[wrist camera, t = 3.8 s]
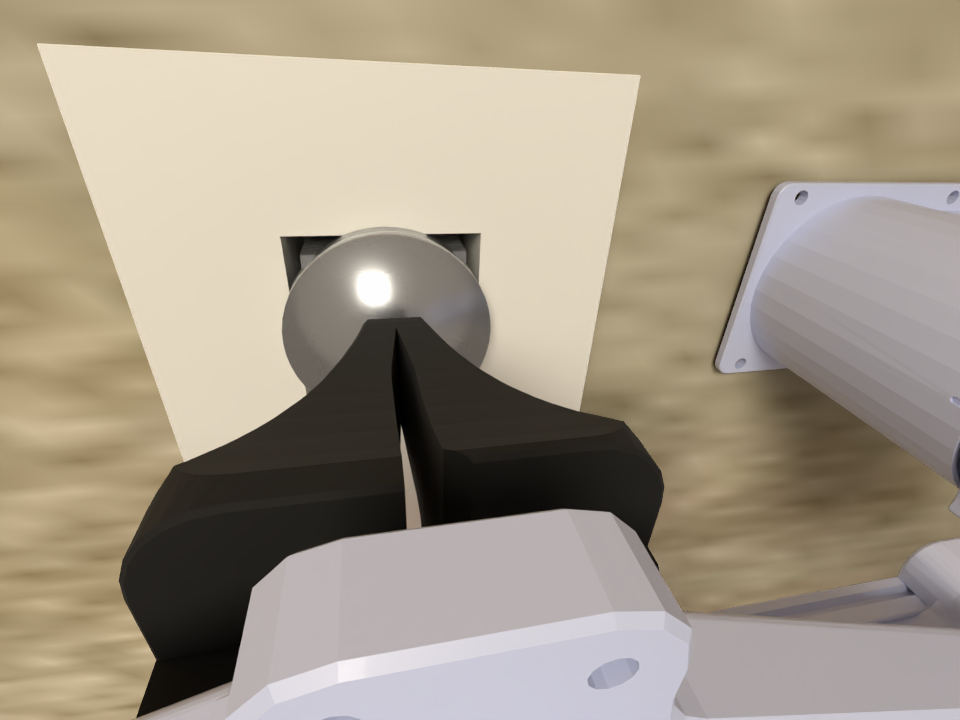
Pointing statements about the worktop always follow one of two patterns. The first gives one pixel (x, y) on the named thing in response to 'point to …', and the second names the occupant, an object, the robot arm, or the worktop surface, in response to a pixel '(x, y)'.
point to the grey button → (380, 295)
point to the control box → (339, 205)
